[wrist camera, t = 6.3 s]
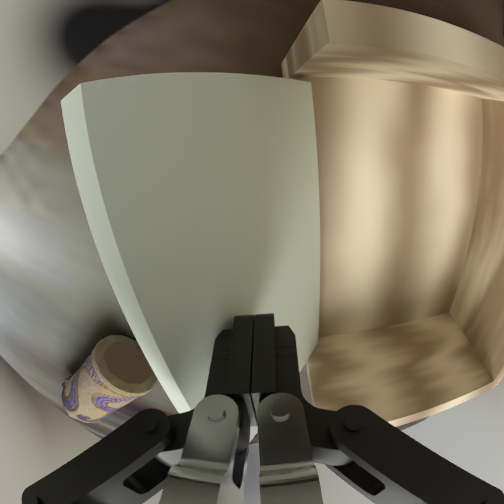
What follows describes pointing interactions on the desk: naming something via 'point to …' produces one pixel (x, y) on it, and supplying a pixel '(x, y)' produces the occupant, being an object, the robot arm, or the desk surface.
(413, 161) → the beige open box
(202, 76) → the white rectangular panel
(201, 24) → the desk surface
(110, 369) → the decorative bottle
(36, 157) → the desk surface
